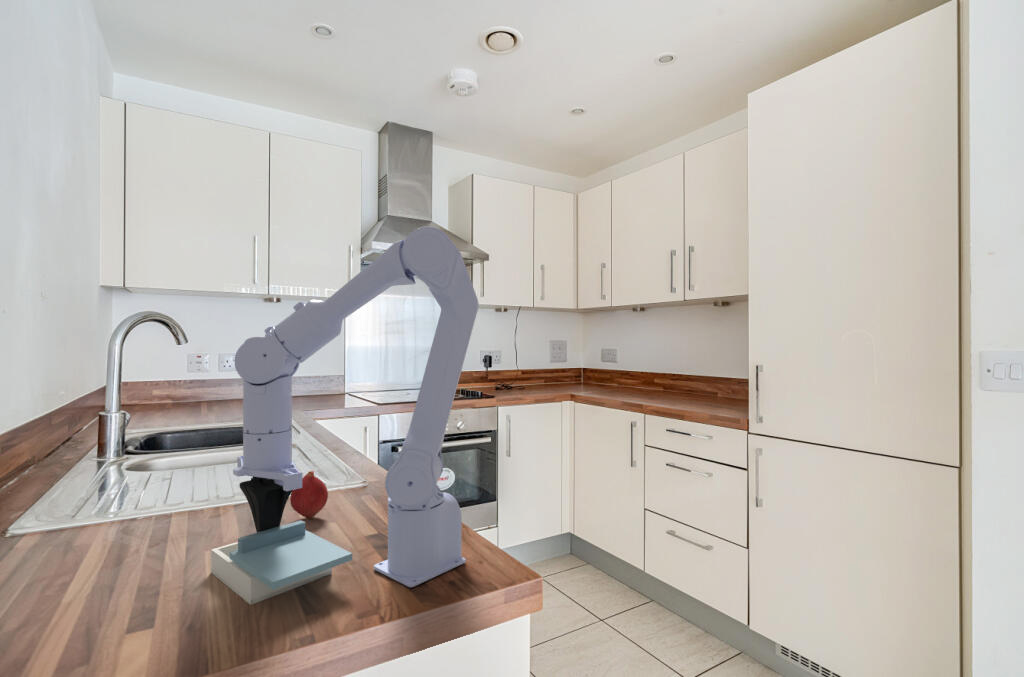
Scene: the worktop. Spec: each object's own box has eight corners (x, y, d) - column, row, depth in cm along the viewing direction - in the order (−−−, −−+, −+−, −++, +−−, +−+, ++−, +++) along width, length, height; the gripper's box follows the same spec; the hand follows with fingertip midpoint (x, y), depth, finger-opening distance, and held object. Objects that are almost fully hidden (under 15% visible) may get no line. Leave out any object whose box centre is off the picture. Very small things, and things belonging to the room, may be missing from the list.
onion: (287, 526, 81) (288, 476, 81) (293, 514, 87) (293, 467, 87) (326, 523, 83) (326, 474, 83) (329, 511, 88) (329, 465, 88)
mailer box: (287, 548, 73) (287, 527, 73) (331, 573, 65) (331, 550, 65) (211, 572, 65) (211, 549, 65) (250, 604, 57) (250, 578, 57)
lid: (305, 535, 69) (305, 517, 69) (352, 560, 62) (352, 540, 62) (229, 558, 62) (229, 539, 62) (272, 589, 54) (272, 567, 54)
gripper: (213, 427, 67) (213, 529, 67) (260, 442, 58) (260, 561, 58) (267, 421, 73) (266, 515, 73) (318, 433, 63) (318, 542, 63)
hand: (267, 534), depth 66 cm, fingers closed
